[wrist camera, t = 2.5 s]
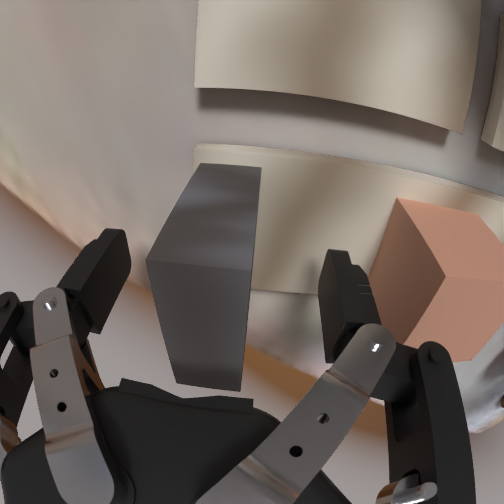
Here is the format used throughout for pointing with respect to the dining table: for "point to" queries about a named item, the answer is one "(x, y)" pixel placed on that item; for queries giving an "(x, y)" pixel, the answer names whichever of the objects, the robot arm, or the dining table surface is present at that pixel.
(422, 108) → the broken strip
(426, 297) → the terracotta block
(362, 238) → the unbroken strip
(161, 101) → the dining table surface
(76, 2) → the dining table surface
